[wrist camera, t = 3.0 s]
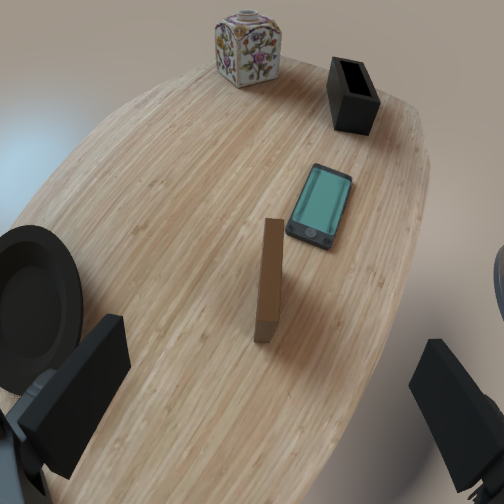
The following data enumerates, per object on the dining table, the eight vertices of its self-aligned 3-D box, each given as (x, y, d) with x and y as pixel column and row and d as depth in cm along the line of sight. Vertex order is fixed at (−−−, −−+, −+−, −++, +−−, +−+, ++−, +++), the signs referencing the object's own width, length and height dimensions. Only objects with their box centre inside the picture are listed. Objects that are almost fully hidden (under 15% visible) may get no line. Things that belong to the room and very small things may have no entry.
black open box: (368, 136, 55) (380, 102, 47) (334, 130, 55) (343, 95, 47) (355, 91, 63) (363, 62, 55) (326, 86, 63) (332, 56, 55)
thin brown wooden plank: (269, 343, 37) (278, 322, 26) (253, 342, 37) (256, 320, 27) (275, 264, 42) (284, 219, 31) (260, 263, 42) (265, 217, 31)
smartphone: (284, 229, 43) (314, 161, 49) (283, 233, 44) (313, 166, 50) (332, 247, 42) (354, 176, 48) (330, 251, 43) (352, 181, 49)
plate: (133, 333, 37) (116, 323, 32) (33, 428, 29) (10, 428, 24) (53, 215, 45) (39, 198, 40) (-24, 297, 37) (-42, 286, 32)
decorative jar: (237, 89, 61) (236, 21, 45) (215, 71, 66) (211, 10, 50) (280, 78, 64) (285, 15, 48) (255, 61, 69) (257, 3, 53)
